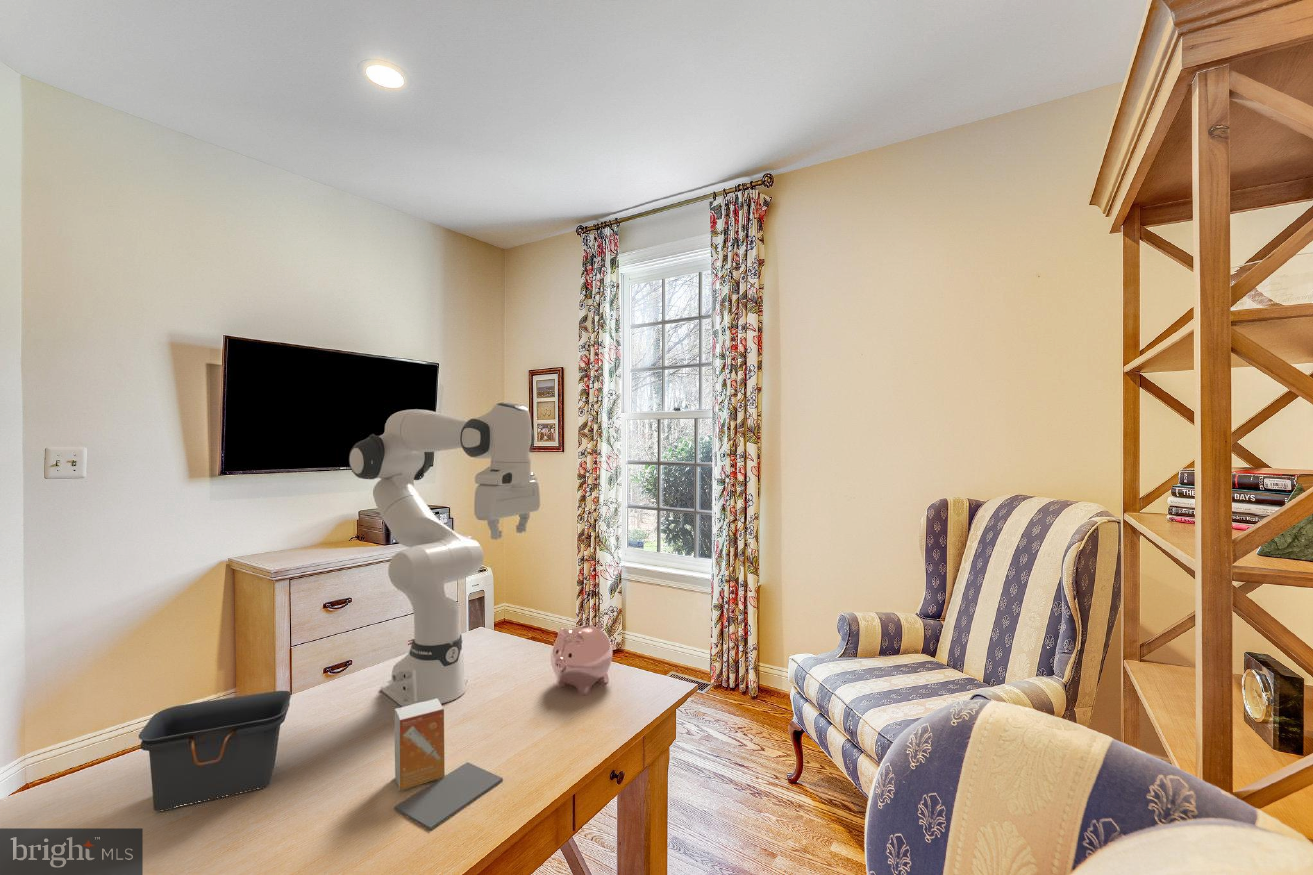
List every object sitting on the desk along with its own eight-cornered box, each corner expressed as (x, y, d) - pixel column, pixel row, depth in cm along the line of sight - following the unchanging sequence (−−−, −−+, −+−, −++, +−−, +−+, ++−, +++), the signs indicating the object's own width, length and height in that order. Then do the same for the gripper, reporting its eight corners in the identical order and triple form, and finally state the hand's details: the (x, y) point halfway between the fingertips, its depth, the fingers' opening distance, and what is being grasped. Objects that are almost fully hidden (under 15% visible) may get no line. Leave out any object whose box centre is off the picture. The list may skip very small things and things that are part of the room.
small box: (399, 792, 101) (398, 720, 102) (394, 776, 106) (393, 708, 107) (445, 777, 105) (444, 707, 106) (438, 763, 111) (437, 697, 111)
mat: (394, 809, 97) (394, 806, 97) (467, 764, 111) (467, 761, 111) (430, 830, 92) (430, 827, 92) (502, 780, 105) (502, 777, 105)
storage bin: (291, 755, 113) (293, 685, 113) (282, 798, 100) (284, 719, 100) (156, 784, 103) (158, 708, 103) (125, 837, 89) (127, 749, 90)
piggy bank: (535, 690, 144) (536, 629, 144) (579, 666, 159) (580, 611, 160) (581, 705, 136) (582, 640, 136) (623, 679, 151) (623, 621, 152)
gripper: (524, 471, 135) (523, 528, 135) (469, 476, 116) (467, 541, 115) (547, 472, 133) (545, 530, 133) (494, 477, 113) (492, 544, 113)
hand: (509, 535), depth 124 cm, fingers open, 8 cm apart
